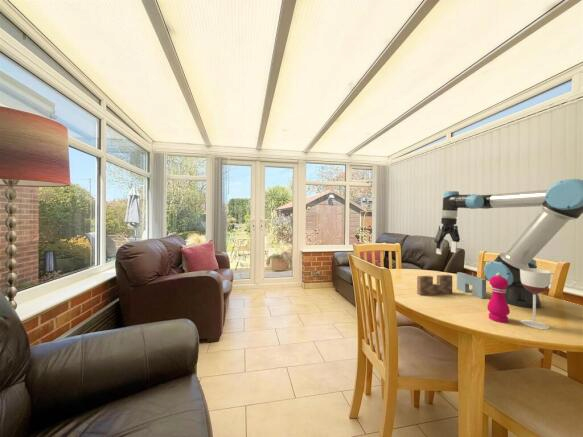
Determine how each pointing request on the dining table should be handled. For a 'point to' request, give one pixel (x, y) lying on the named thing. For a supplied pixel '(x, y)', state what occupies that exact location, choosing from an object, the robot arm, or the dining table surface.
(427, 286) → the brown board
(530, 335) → the dining table surface
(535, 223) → the robot arm
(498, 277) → the pepper mill
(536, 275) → the wineglass
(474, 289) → the crosspiece
